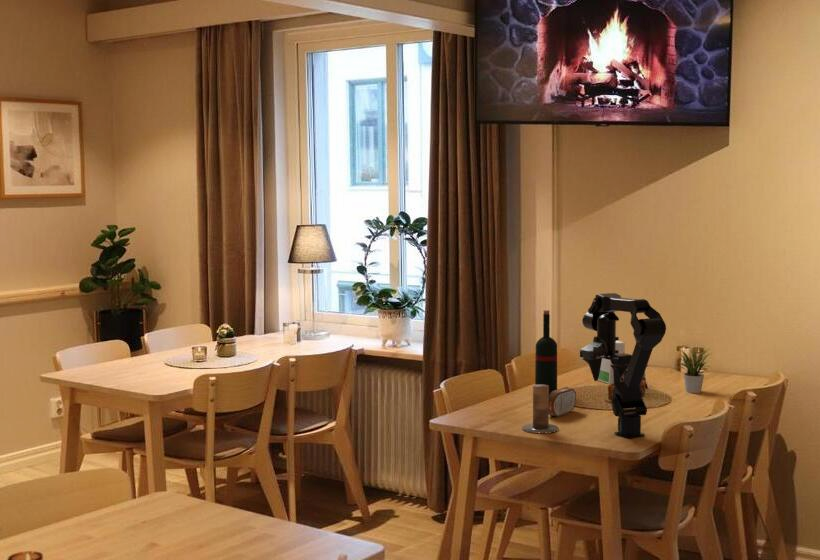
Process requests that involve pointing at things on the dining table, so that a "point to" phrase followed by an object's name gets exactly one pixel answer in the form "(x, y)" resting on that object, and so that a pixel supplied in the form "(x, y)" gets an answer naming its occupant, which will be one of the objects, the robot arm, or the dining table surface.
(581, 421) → the dining table surface
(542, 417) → the pepper mill
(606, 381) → the skincare box
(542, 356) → the wine bottle
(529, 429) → the coaster
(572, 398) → the tin
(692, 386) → the house plant
